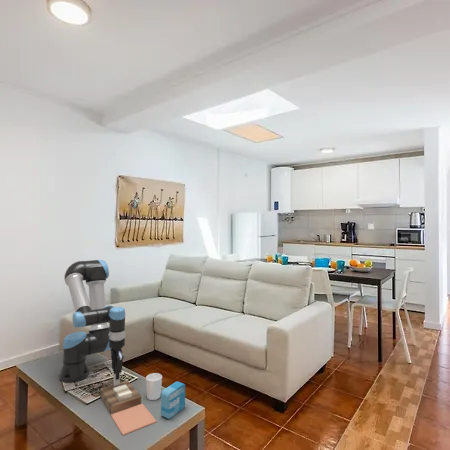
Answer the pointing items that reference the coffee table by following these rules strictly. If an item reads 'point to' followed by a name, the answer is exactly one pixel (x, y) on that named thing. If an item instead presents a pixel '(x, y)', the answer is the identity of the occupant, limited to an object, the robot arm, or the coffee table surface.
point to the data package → (172, 399)
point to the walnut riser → (113, 402)
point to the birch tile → (122, 392)
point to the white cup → (153, 386)
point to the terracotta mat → (133, 419)
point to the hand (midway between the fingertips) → (116, 384)
